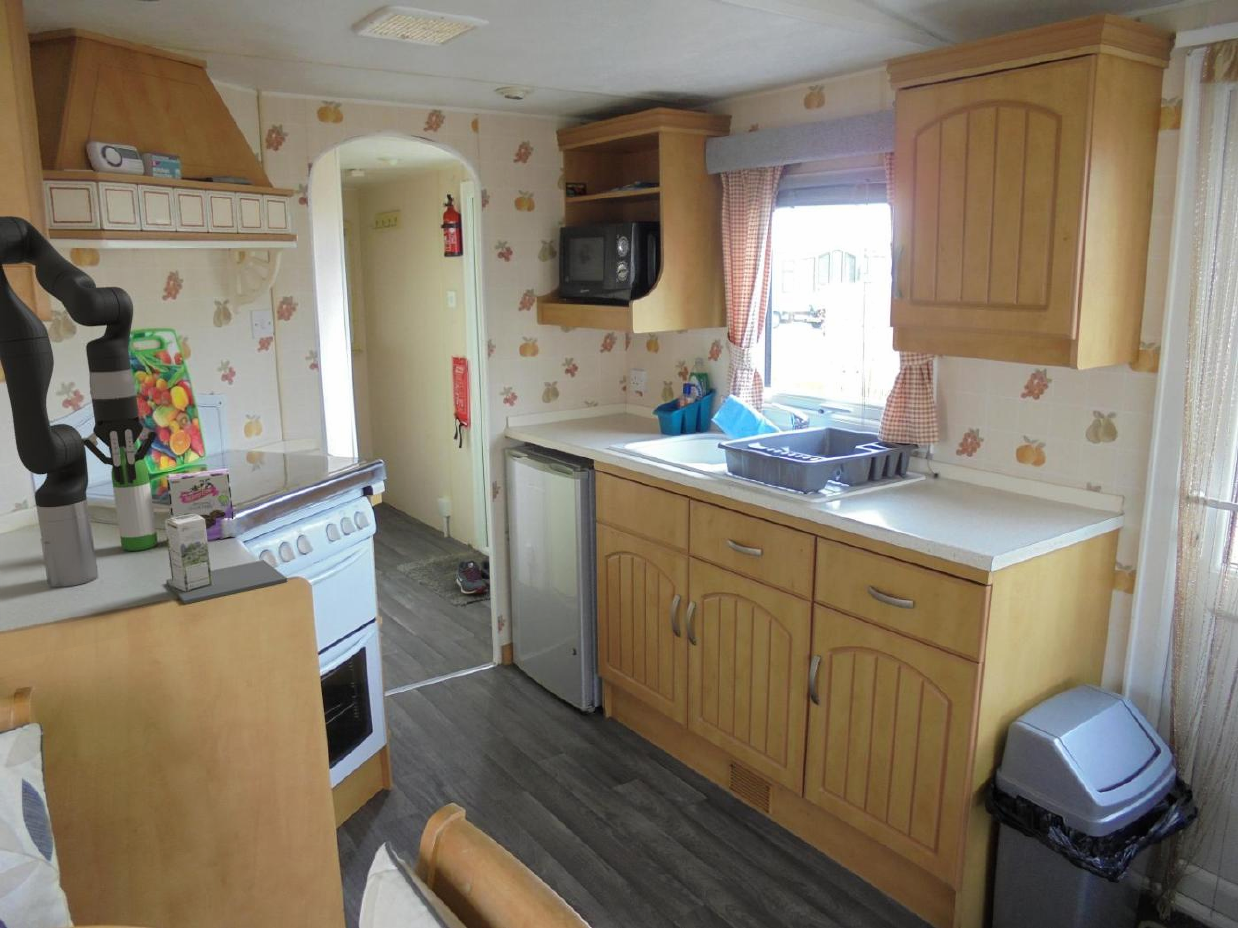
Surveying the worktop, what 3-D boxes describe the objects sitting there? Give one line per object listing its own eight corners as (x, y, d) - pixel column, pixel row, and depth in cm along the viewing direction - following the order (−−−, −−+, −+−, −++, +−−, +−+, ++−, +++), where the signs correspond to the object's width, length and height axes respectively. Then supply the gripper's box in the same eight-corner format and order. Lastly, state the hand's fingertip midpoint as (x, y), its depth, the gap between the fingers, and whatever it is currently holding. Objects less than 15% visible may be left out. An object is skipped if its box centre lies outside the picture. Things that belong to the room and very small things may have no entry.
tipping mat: (184, 604, 184) (184, 600, 184) (166, 583, 197) (166, 579, 197) (287, 581, 196) (286, 578, 196) (264, 563, 208) (263, 560, 208)
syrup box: (199, 579, 196) (191, 512, 193) (213, 585, 193) (205, 516, 189) (172, 586, 192) (163, 518, 189) (185, 592, 188) (176, 523, 185)
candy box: (174, 545, 224) (165, 478, 220) (174, 539, 229) (166, 473, 225) (236, 537, 229) (228, 471, 226) (235, 531, 234) (228, 467, 231)
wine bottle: (116, 548, 223) (98, 423, 216) (149, 540, 229) (133, 418, 222) (130, 554, 218) (112, 426, 211) (164, 546, 224) (147, 421, 217)
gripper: (76, 400, 171) (90, 492, 175) (156, 392, 179) (168, 481, 183) (70, 396, 177) (83, 485, 181) (148, 389, 185) (159, 474, 189)
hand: (126, 483), depth 182 cm, fingers closed
